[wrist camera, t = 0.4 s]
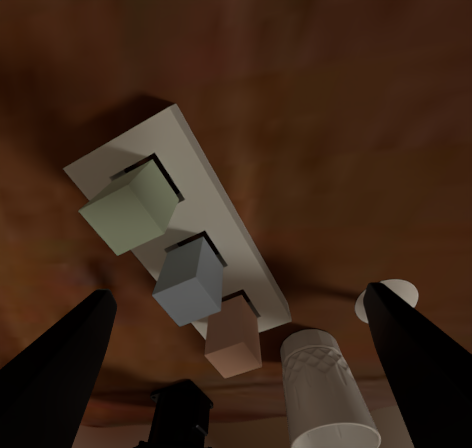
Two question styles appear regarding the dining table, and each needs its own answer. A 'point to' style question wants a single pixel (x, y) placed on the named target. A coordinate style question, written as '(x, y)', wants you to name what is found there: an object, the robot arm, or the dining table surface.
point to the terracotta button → (233, 338)
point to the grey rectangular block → (190, 282)
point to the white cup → (323, 395)
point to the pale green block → (132, 208)
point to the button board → (188, 210)
